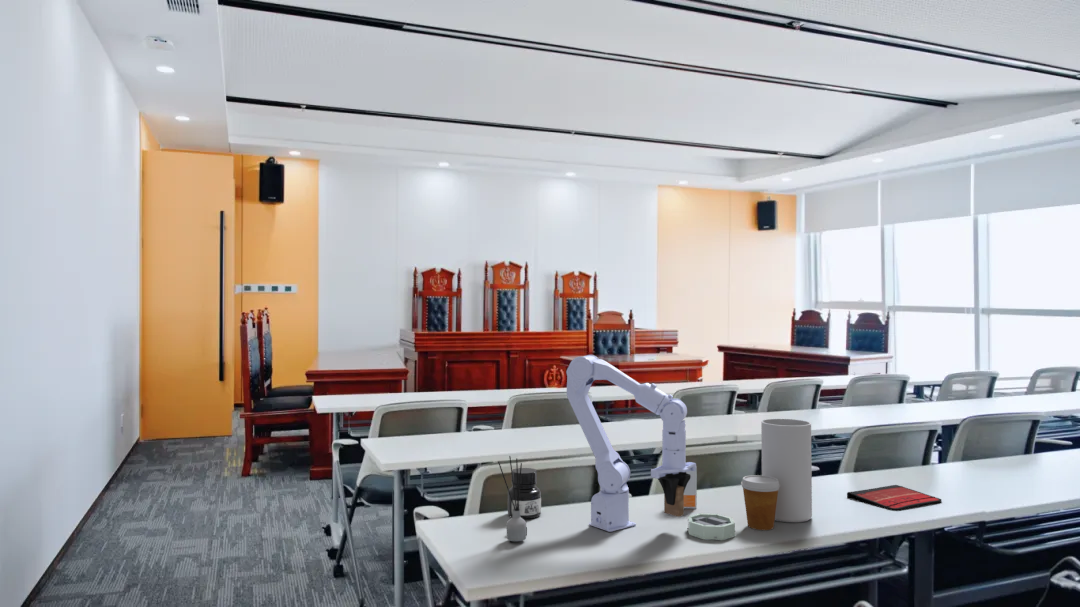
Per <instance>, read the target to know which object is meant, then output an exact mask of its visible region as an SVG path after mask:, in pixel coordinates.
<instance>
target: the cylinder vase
mask: <svg viewBox="0 0 1080 607" xmlns="http://www.w3.org/2000/svg"><path fill="white" fill-rule="evenodd" d="M812 473H813V472H812V422H810V421H807V420H803V419H793V418H766V419H762V420H761V475H762V476H769V477H774V478H776V479H778V482H779V484H780V487H779V490H778V496H777V504H776V512H775V521H776V522H780V523H781V522H782V523H783V522H784V523H802V522H803V523H805V522H807V521H809V520H811V519H812V517H813V505H812V504H813V498H812V497H813V495H812V494H813V492H812V488H813V486H812V485H813V484H812V480H813V479H812V478H813V477H812V475H813V474H812Z"/></svg>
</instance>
